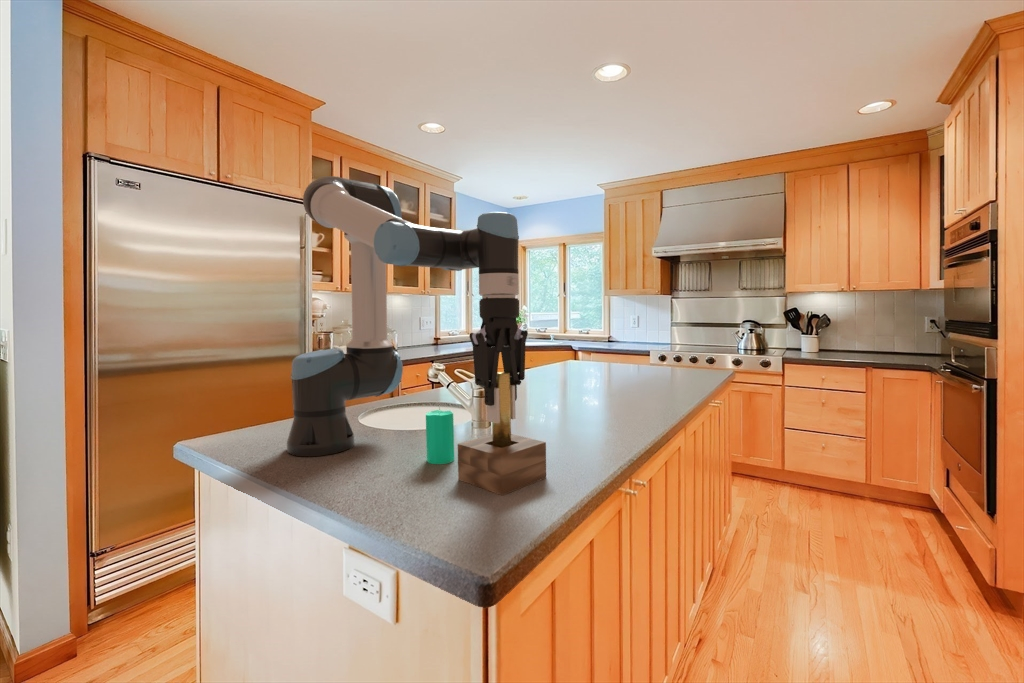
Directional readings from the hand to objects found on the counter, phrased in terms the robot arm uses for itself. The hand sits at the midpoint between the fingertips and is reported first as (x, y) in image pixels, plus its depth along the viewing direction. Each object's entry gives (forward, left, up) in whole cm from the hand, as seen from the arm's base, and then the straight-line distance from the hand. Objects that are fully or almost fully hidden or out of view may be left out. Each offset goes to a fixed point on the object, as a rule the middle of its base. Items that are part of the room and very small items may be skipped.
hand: (501, 419), depth 93 cm
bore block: (0, 0, -11) cm, 11 cm away
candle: (-19, -1, -12) cm, 22 cm away
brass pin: (0, 0, -5) cm, 5 cm away
